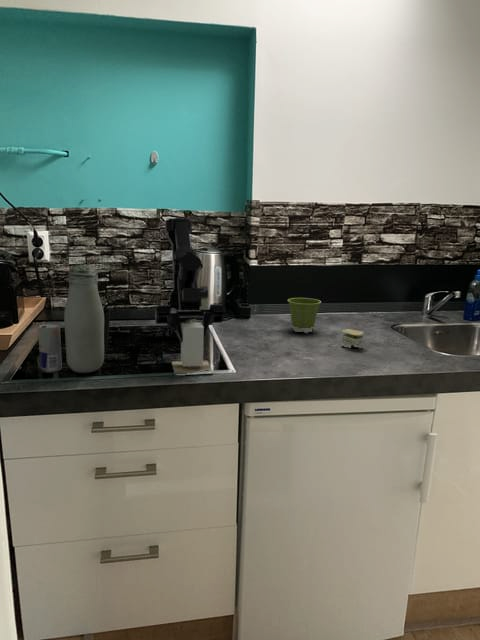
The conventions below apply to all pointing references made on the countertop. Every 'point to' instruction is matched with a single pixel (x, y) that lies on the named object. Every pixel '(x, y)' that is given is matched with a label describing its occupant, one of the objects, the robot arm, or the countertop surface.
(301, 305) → the plant pot
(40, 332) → the energy drink
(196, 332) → the tall pale rectangular prism
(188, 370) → the beige board with block
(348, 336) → the stacked layers on plate
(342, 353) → the countertop surface
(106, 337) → the cup
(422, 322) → the countertop surface
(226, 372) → the countertop surface
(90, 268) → the glass bottle
